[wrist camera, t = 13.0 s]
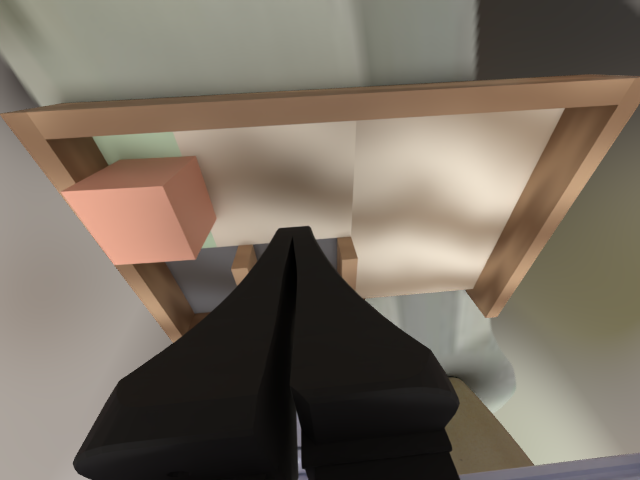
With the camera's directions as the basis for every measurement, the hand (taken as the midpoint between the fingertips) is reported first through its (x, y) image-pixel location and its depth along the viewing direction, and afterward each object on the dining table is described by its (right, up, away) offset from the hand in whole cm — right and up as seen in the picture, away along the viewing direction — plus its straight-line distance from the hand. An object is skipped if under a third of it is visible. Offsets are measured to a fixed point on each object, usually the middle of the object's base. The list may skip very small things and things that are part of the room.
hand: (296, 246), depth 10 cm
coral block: (-8, +3, +4) cm, 9 cm away
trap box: (+2, +1, +7) cm, 7 cm away
